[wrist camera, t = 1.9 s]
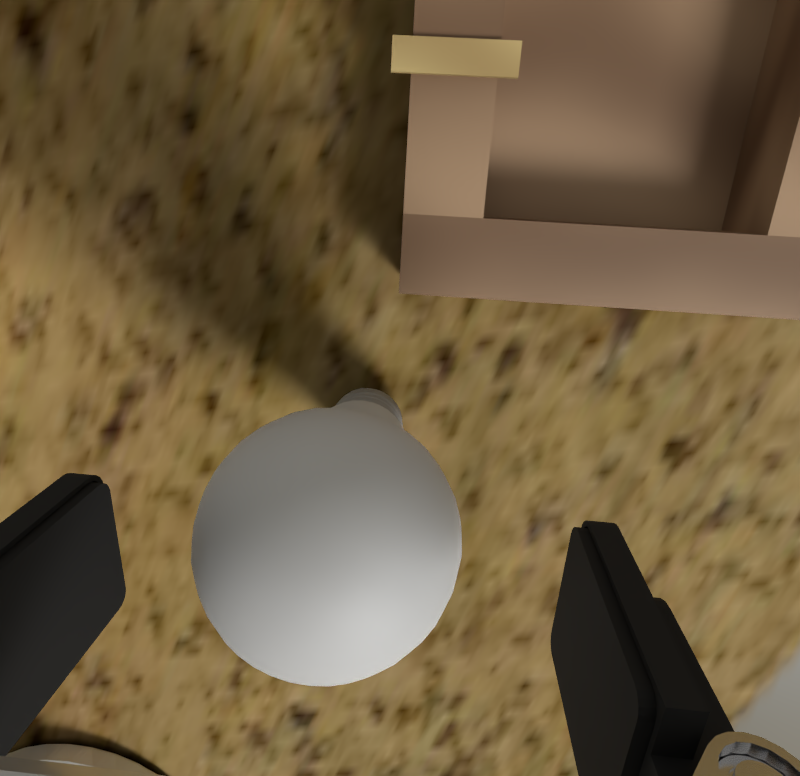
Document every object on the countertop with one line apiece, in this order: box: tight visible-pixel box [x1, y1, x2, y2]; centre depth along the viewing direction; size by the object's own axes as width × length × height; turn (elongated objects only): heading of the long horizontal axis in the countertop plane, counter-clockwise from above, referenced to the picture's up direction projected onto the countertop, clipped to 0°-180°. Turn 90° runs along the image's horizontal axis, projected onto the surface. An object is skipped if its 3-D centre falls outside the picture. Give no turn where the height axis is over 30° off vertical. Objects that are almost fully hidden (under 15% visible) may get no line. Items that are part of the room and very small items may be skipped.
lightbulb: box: [191, 388, 462, 686], centre depth 15 cm, size 6×6×11 cm
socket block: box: [391, 0, 800, 320], centre depth 15 cm, size 12×12×3 cm
